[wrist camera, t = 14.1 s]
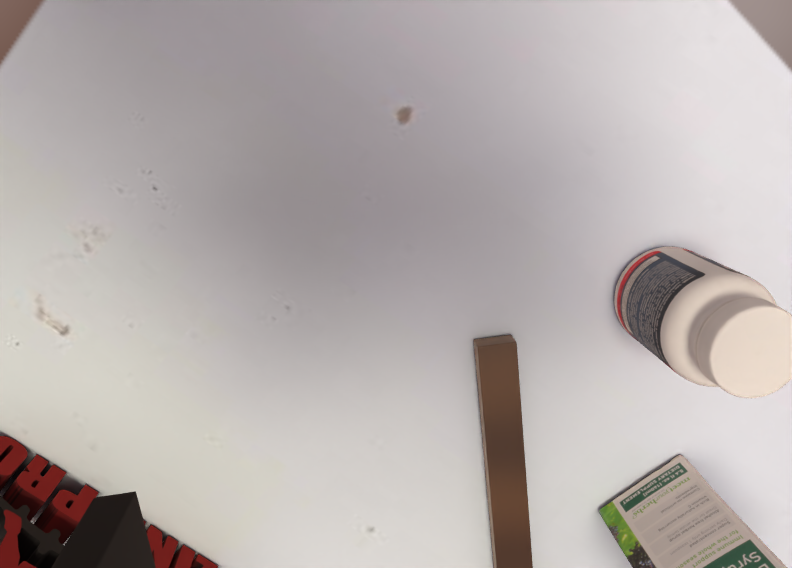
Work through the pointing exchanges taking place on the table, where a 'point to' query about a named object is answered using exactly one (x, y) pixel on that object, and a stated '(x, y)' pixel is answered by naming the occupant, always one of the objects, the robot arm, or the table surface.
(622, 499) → the syrup box
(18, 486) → the logo sign
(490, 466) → the strip
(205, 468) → the table surface
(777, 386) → the pill bottle
